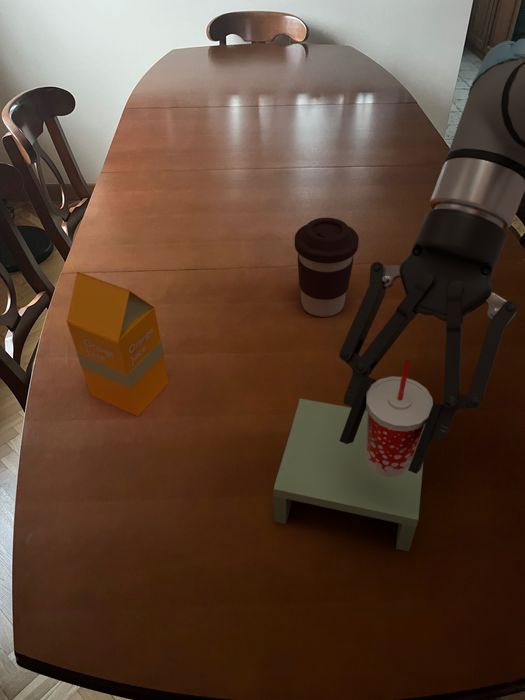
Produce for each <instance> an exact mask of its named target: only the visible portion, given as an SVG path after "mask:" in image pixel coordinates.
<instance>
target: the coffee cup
mask: <svg viewBox="0 0 525 700" xmlns="http://www.w3.org/2000/svg"><path fill="white" fill-rule="evenodd" d="M359 240H360V238H359V235H358V232H357V231H356V230H355V229H353V228H352V227H351V226H349V225H348V224H347V223H345V222H344V221H343V220H341V219H339V218H335V217H318V218H315V219H312V220H311V221H309V222H308V223H306V224H304V225H303V226H301V227H300V228H298V230H297V231H296V232H295V235H294V249H295V251H296V252H297V271H298V272H297V273H298V285H299V289H300V301H301V306H302V308H303V310H305V312H307V313H308V314H310V315H312V316H315V317H321V318H327V317H332V316H335V315H337V314H339V313H340V312H341V311H342V310H343V308H344V306H345V301H346V295H347V291H349V290H348V289H349V287H350V281H351V276H352V271H353V265H354V256H355V255H356V253H357V252H358V249H359V244H360V243H359V242H360V241H359Z"/></svg>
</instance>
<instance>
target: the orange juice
mask: <svg viewBox="0 0 525 700" xmlns="http://www.w3.org/2000/svg"><path fill="white" fill-rule="evenodd" d="M65 321H66V324H67V327H68V330H69V333H70V337H71V339H72V342H73V345H74V349H75V351H76V356H77V359H78V361H79V364H80V367H81V370H82V373H83V376H84V378H85V382H86V384H87V388H88V391H89V393H90V394H89V395H90V396H91V397H93V398H96V399H98V400H100V401H102V402H105V403H107V404H109V405H111V406H114V407H115V408H118V409H120V410H122V411H124V412H127V413H128V414H131V415H133V416H135V417H137V418H139V416H140V415H141V414H142V413H143V412H144V411H145V410H146V409H147V407H149V405H150V404H151V403H152V402H153V401H154V400H155V399H156V398H157V397H158V395H159V394H161V392H162V391H163V390H164V388H166V387H167V386H168V385H169V383H170V382H169V376H168V371H167V367H166V366H167V365H166V361H165V355H164V354H165V353H164V349H163V342H162V340H161V335H160V329H159V325H158V318H157V314H156V308H155V307H154V306H153V305H151V304H150V303H148V302H147V301H146V300H145V299H142V298H141V297H140V296H138V295H137V294H135V293H134V292H132V291H131V290H129V289H127V288H124V287H121V286H118V285H116V284H113V283H111V282H108V281H105V280H103V279H100V278H99V279H98V278H96V277H94V276H92V275H88V274H85V273H82V272H80V271H76V274H75V279H74V284H73V289H72V293H71V299H70V305H69V309H68V314H67V319H66V320H65Z"/></svg>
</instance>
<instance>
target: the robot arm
mask: <svg viewBox="0 0 525 700" xmlns="http://www.w3.org/2000/svg"><path fill="white" fill-rule="evenodd" d="M524 193H525V38H520V39H519V38H518V39H517V41H512V40H505V41H502V42H500V43H498V44H496V45H495V46H493V47H492V48H491V49H490V50H489V51H488V52H487V53H486V55H485V56H484V58H483V61H482V62H481V65H480V68H479V70H478V72H477V74H476V76H475V77H474V79H473V80H472V82H471V85H470V87H469V91H468V94H467V98H466V101H465V104H464V108H463V110H462V112H461V116H460V119H459V121H458V124H457V127H456V130H455V132H454V136H453V138H452V141H451V144H450V147H449V150H448V153H447V155H446V159H445V161H444V164H443V166H442V167H441V171H440V174H439V176H438V179H437V180H436V184H435V187H434V189H433V192H432V194H431V197H430V200H429V205H430V208H431V209H430V210H429V211H428V212H426V213H425V214H424V217H423V219H422V223H421V225H420V228H419V230H418V233H417V235H416V238H415V241H414V243H413V247H412V249H411V252H410V253H409V255H408V256H407V257H406V258H405V259H404V260H403V261H402V262H401V264H383V263H381V261H374V262H372V264H371V265H370V268H369V283H368V287H367V289H366V291H365V294H364V296H363V299H362V301H361V303H360V305H359V308H358V310H357V312H356V314H355V316H354V318H353V321H352V323H351V326H350V328H349V330H348V332H347V334H346V337H345V339H344V341H343V344H342V346H341V348H340V351H339V354H338V356H339V358H340V360H342V361H344V363H346V364H347V365H348V366H349V367H350V368H351V370H352V374H351V377H350V380H349V382H348V385H347V388H346V391H345V394H344V396H343V405H346V406H347V407H350V408H351V411H350V413H349V416H348V419H347V422H346V424H345V427H344V430H343V432H342V435H341V438H340V440H339V441H340V442H343V443H345V444H349V443H353V441H354V439H355V436H356V433H357V431H358V428H359V425H360V423H361V420H362V417H363V414H364V412H365V410H367V409H366V395H367V392H368V390H369V388H370V387H371V385H372V384H373V383H375V382H376V381H377V379H375V378H372V377H369V376H370V375H372V374H373V372H372V371H373V370H374V369H375V368H376V367H377V366H378V364H379V362H381V360H382V359H383V358H384V356H385V355H386V353H387V352H388V351H389V350H390V348H391V347H392V346H393V344H395V342H396V341H397V339H398V338H399V337H400V335H401V334H402V333H403V332H404V330H405V329H406V328H407V327H408V325H409V324H410V323H411V322H412V321H413V320H414V319H415V318H416V316H417V315H418V314H420V315H424V316H433V317H435V318H437V319H438V320H439V321H442V322H444V323H446V327H445V328H446V333H445V334H446V336H445V337H446V338H445V359H444V360H445V361H444V362H445V364H444V386H443V387H444V389H443V392H444V393H443V400H442V403H440V402H436V401H435V402H434V401H433V406H432V408H431V411H430V414H429V416H428V419H427V422H426V424H425V427H424V430H423V432H422V435H421V437H420V440H419V443H418V445H417V448H416V451H415V453H414V456H413V459H412V461H411V464H410V467H409V469H408V471H411V472H413V473H415V474H417V473H418V472H419V471H420V469H421V466H422V464H423V465H424V461H425V458H426V456H427V453H428V450H429V449H430V445H431V442H432V440H434V441H436V442H439V443H442V442H443V441H444V440H445V439H446V438H447V436H448V433H449V431H450V428H451V425H452V423H453V421H454V418H455V416H456V415H455V414H456V413H457V412H458V410H460V409H477V408H479V407H480V406H481V405H482V404H483V399H484V396H485V393H486V390H487V387H488V383H489V379H490V377H491V374H492V370H493V367H494V365H495V364H494V363H495V360H496V356H497V354H498V350H499V346H500V344H501V341H502V338H503V337H502V336H503V334H504V330H506V328H507V326H509V324H510V323H511V322H512V320H513V319H514V317H515V316H516V315H517V311H518V305H517V303H516V302H515V301H512V300H506V299H504V298H503V297H501V296H500V295H498V294H497V293H496V292H494V291H493V283H492V280H493V275H494V273H495V270H496V267H497V264H498V262H499V259H500V258H501V254H502V252H503V249H504V246H505V245H506V241H507V239H508V236H507V235H506V231H505V230H508V229H510V228H511V227H512V225H513V222H514V220H515V218H516V214H517V212H518V209H519V207H520V204H521V201H522V198H523V196H524ZM399 278H400V279H401V282H402V286H403V290H404V294H405V297H404V298H403V299H402V300H401V302H400V303H399V305H398V306H397V307H396V310H395V312H394V313H393V314H392V316H390V318H389V320H388V321H387V322H386V323H385V324H384V326H383V327H382V328H381V330H380V331H379V332H378V334H377V335H376V336H375V338H374V339H373V340H372V342H371V343H370V344H369V345H368V346H367V348H366V349H365V350H364V352H363V353H362V355H360V352H361V350H362V348H363V346H364V344H365V341H366V339H367V336H368V335H369V333H370V330H371V328H372V325H373V323H374V321H375V319H376V317H377V314H378V312H379V310H380V307H381V306H382V303H383V300H384V298H385V296H386V292H387V289H389V288H392V287H393V286H394V284H395V281H396V280H397V279H399ZM485 303H486V304H487V305H488V309H487V311H486V312H487V313H486V314H487V315H486V317H487V318H488V320H490V322H489V325H488V327H487V331H486V334H485V337H484V340H483V344H482V346H481V347H482V348H481V351H480V354H479V357H478V360H477V364H476V367H475V371H474V373H473V376H472V381H471V384H470V388H469V391H468V393H461V379H462V378H461V377H462V353H463V352H462V350H463V333H464V318H465V316H467V315H469V314H470V313H472V312H473V311H474V310H476V309H478V308H479V307H481V306H482V305H483V304H485Z"/></svg>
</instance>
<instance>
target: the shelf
mask: <svg viewBox="0 0 525 700" xmlns="http://www.w3.org/2000/svg"><path fill="white" fill-rule="evenodd" d="M351 408H352V407H350V406H343V405H338V404H332V403H327V402H321V401H317V400H310V399H305V398H299V401H298V404H297V407H296V410H295V414H294V418H293V420H292V424H291V428H290V430H289V434H288V438H287V441H286V444H285V448H284V452H283V455H282V458H281V462H280V464H279V469H278V472H277V475H276V479H275V482H274V485H273V490H272V491H273V522H276V523H280V524H284V525H285V524H286V525H287V521H288V518H289V516H290V515H289V514H290V511H291V506H292V503H293V502H298V503H299V502H300V503H303V504H309V505H313V506H317V507H323V508H327V509H331V510H337V511H339V512H340V511H341V512H345V513H351V514H355V515H359V516H363V517H368V518H373V519H377V520H381V521H387V522H391V523H395V524H398V525H397V533H396V543H395V550H399V551H405V552H410V549H411V545H412V542H413V539H414V535H415V533H416V530H417V526H418V523H419V518H420V517H419V516H420V504H421V493H422V484H423V483H422V481H423V471H424V469H423V468H424V463H423V464H422V466H421V469H420V471H419V472H418V473H417V474H415V473H413V472H411V471H408V469H409V467H410V465H409V467H408V469H407V471H405V472H404V473H403V474H401V475H398V476H394V477H390V476H383V475H380V474H378V473H376V472H374V471H373V470H372V469H371V468H370V467H369V466H368V463H367V461H366V437H367V421H368V411H367V409H365V412H364V414H363V417H362V420H361V423H360V425H359V428H358V431H357V433H356V436H355V439H354V441H353V443H349V444H345V443H343V442H340V441H339V440H340V438H341V435H342V432H343V430H344V427H345V424H346V422H347V419H348V416H349V413H350V411H351ZM425 424H426V423H425ZM424 427H425V425H424ZM424 427H423V430H424ZM423 430H422V432H423ZM421 435H422V433H421ZM420 437H421V436H420ZM419 440H420V438H419ZM418 443H419V441H418ZM417 445H418V444H417ZM416 448H417V447H416ZM415 451H416V449H415ZM414 453H415V452H414ZM413 456H414V455H413ZM412 459H413V457H412ZM411 461H412V460H411ZM410 464H411V463H410Z"/></svg>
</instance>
